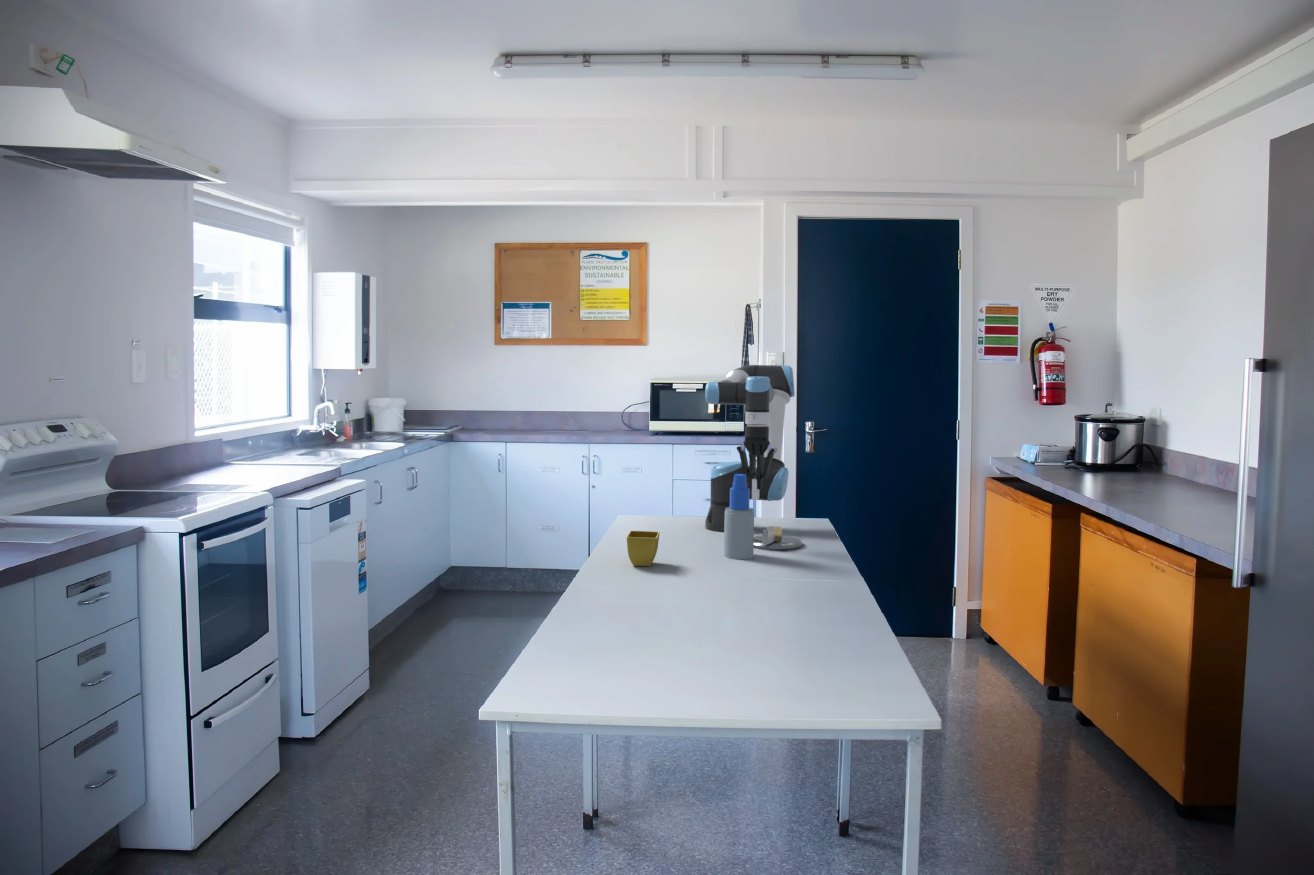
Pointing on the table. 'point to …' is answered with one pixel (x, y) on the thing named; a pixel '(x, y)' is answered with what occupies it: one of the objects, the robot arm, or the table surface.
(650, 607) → the table surface
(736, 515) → the spray bottle
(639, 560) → the gold square bowl
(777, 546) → the gauge plate
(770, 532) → the needle dial
